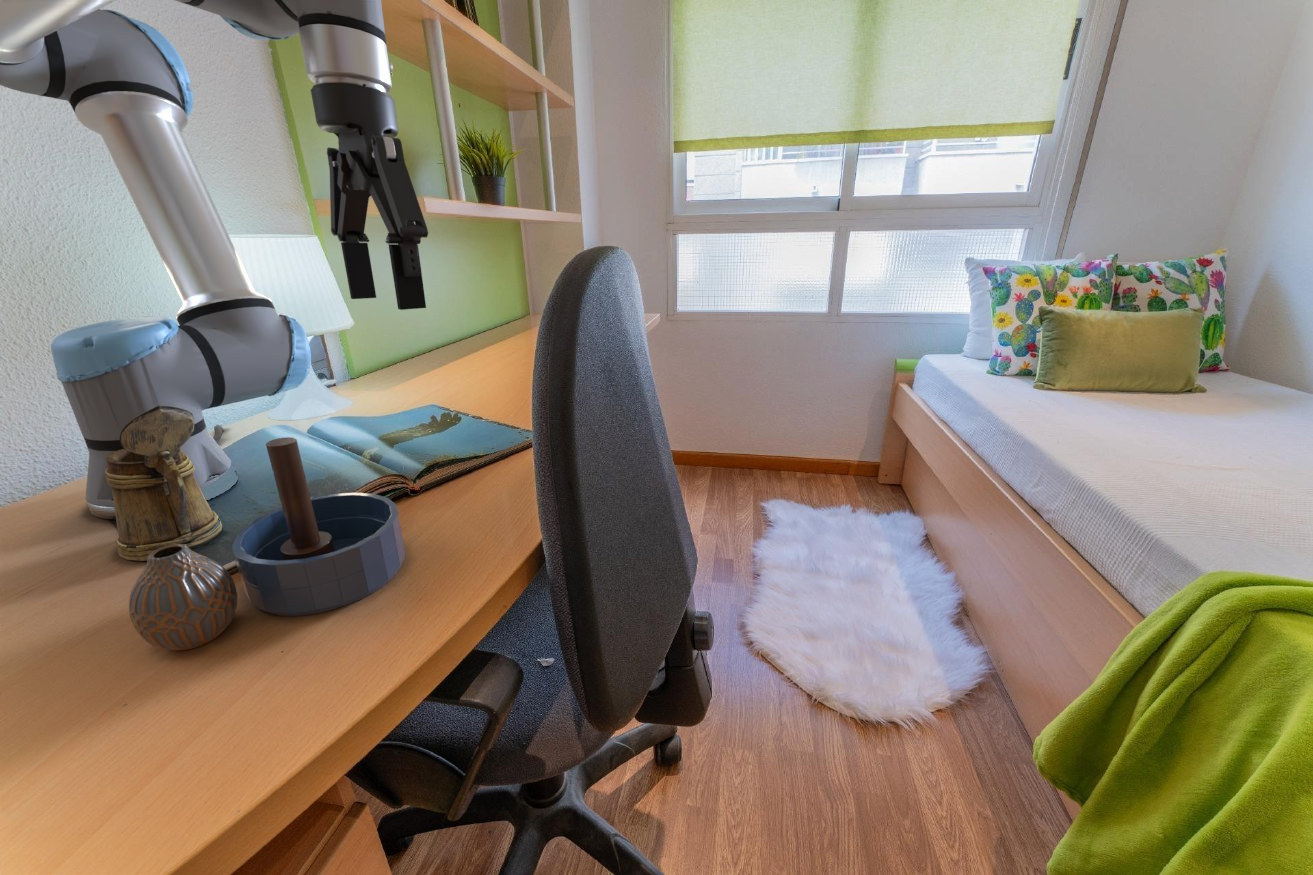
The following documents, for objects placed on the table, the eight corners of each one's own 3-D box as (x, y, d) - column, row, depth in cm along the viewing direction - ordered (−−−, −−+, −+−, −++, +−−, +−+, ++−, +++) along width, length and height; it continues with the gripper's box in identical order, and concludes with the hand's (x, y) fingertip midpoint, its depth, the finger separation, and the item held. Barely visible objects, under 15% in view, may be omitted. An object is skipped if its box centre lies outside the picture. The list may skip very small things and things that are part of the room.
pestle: (283, 576, 54) (246, 442, 49) (329, 558, 57) (299, 430, 52) (298, 594, 51) (261, 454, 46) (346, 573, 55) (316, 441, 49)
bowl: (233, 573, 55) (217, 524, 53) (375, 524, 65) (367, 481, 63) (270, 641, 46) (253, 584, 44) (428, 572, 56) (421, 523, 54)
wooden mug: (158, 584, 53) (95, 418, 47) (106, 547, 59) (44, 395, 53) (255, 544, 60) (213, 395, 54) (200, 514, 67) (156, 378, 60)
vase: (263, 610, 50) (239, 530, 47) (203, 664, 43) (170, 576, 40) (193, 607, 50) (164, 528, 47) (122, 662, 43) (83, 574, 40)
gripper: (447, 76, 48) (471, 311, 55) (348, 114, 63) (377, 293, 71) (359, 53, 42) (399, 317, 50) (275, 101, 58) (314, 296, 65)
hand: (386, 303), depth 60 cm, fingers open, 13 cm apart
